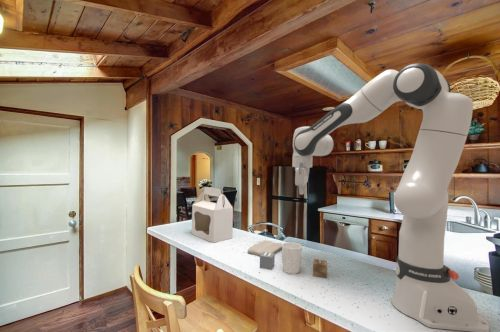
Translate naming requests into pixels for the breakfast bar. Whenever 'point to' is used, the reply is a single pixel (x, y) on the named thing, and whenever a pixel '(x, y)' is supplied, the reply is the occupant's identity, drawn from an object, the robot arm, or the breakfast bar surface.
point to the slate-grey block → (267, 260)
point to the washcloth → (265, 248)
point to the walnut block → (320, 268)
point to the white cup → (291, 257)
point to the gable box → (212, 216)
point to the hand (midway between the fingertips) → (301, 194)
